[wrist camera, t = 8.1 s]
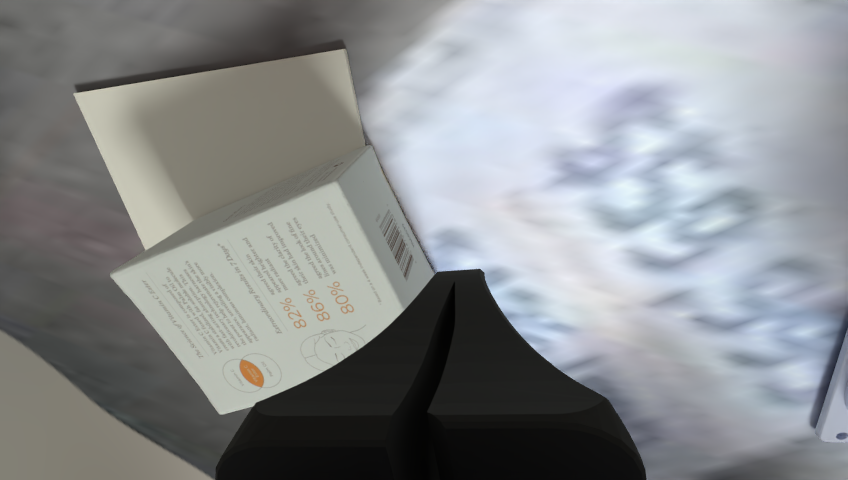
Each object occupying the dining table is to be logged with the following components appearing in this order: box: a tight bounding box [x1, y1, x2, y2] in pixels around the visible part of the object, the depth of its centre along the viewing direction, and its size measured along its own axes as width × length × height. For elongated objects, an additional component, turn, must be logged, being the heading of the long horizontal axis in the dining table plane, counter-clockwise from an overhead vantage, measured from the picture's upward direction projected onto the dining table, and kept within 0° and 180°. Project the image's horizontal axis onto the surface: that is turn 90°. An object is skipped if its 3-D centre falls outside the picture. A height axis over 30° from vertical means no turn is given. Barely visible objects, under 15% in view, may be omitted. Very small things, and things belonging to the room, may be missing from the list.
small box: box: [110, 145, 435, 414], centre depth 19 cm, size 8×6×10 cm
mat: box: [73, 49, 366, 250], centre depth 21 cm, size 13×14×1 cm
